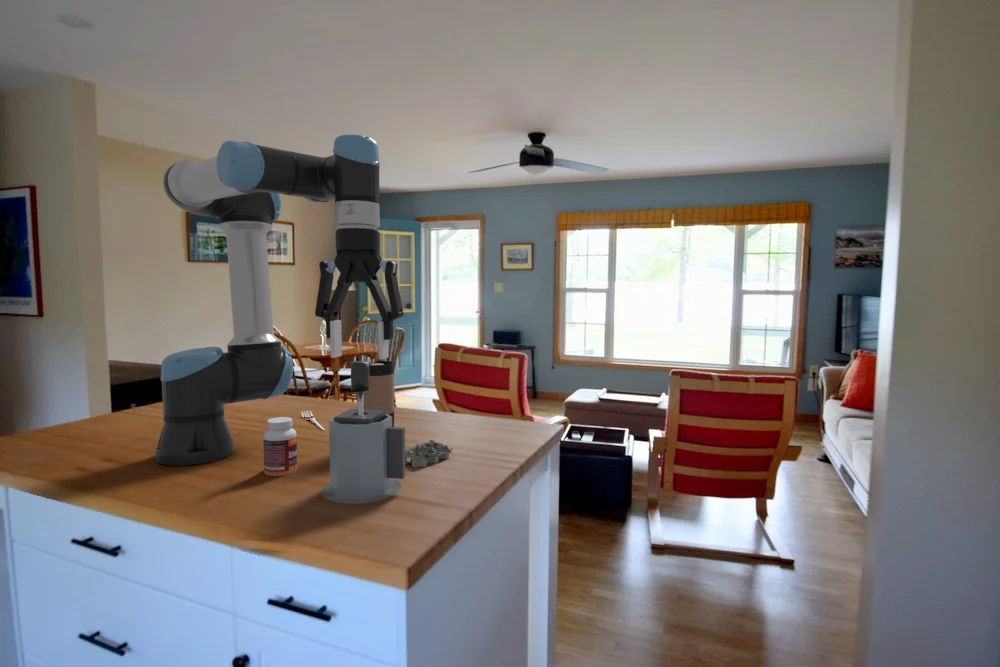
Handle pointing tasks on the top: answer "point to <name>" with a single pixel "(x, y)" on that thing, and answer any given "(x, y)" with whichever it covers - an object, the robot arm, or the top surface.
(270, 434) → the pill bottle
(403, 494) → the top surface
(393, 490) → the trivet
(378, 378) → the travel mug
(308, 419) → the fork
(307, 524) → the top surface
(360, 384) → the plunger
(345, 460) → the carafe
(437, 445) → the egg carton
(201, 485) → the top surface
